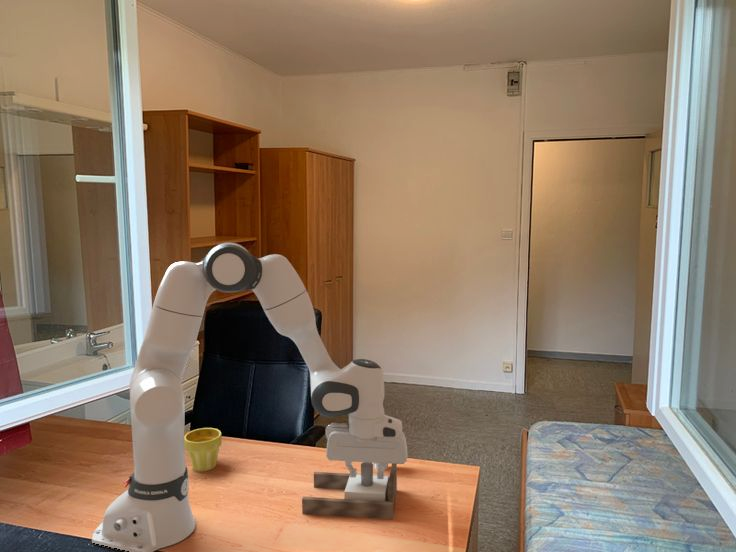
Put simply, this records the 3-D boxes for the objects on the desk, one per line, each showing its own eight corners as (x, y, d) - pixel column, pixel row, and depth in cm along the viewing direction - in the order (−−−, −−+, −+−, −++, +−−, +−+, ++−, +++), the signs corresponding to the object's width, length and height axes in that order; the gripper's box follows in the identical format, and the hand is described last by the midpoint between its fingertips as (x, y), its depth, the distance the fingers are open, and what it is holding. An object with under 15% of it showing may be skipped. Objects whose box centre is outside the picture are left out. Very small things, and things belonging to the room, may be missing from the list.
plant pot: (194, 478, 153) (193, 445, 152) (179, 465, 161) (178, 433, 159) (228, 467, 160) (227, 435, 158) (213, 455, 167) (211, 424, 166)
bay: (302, 517, 133) (301, 483, 132) (314, 488, 147) (314, 457, 146) (392, 523, 131) (392, 488, 130) (396, 493, 144) (396, 461, 143)
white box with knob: (344, 510, 134) (344, 472, 133) (350, 492, 143) (349, 455, 142) (385, 513, 133) (385, 474, 132) (388, 494, 142) (388, 457, 141)
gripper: (322, 427, 134) (323, 481, 136) (406, 431, 131) (406, 485, 133) (327, 417, 140) (328, 469, 142) (407, 421, 138) (407, 473, 139)
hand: (366, 477), depth 137 cm, fingers open, 5 cm apart
